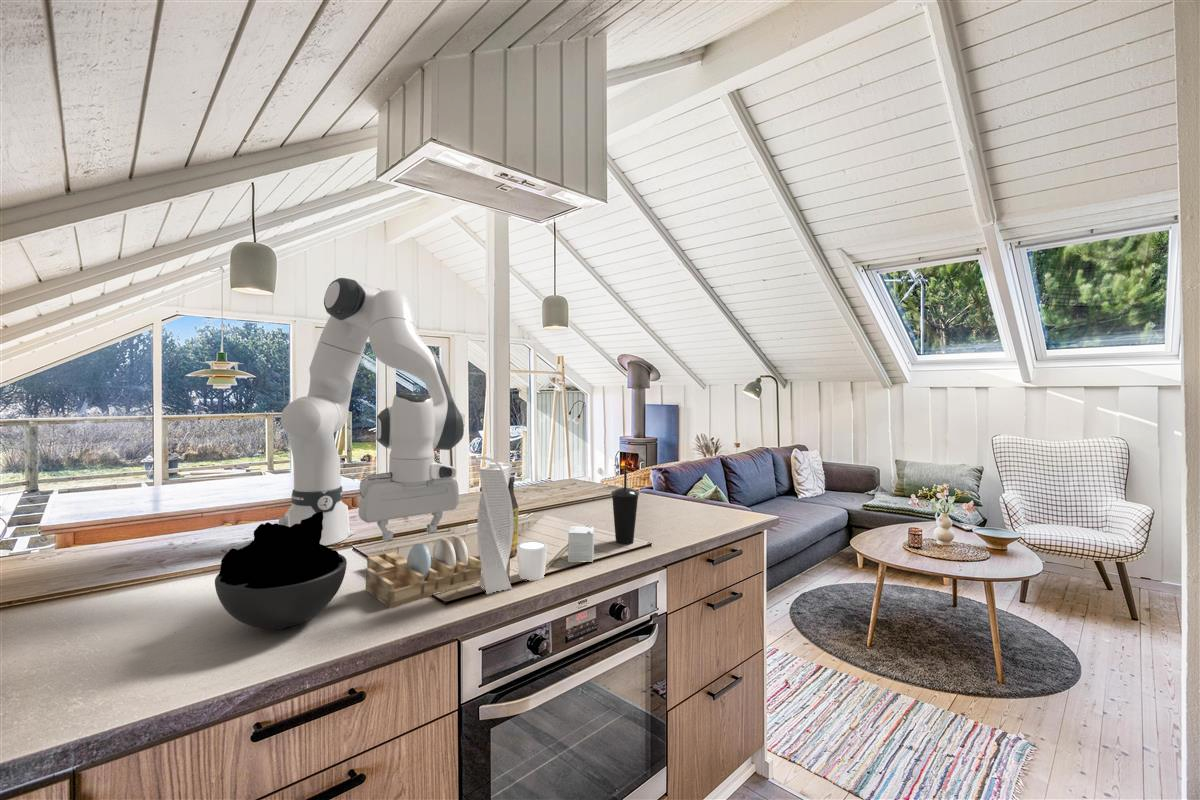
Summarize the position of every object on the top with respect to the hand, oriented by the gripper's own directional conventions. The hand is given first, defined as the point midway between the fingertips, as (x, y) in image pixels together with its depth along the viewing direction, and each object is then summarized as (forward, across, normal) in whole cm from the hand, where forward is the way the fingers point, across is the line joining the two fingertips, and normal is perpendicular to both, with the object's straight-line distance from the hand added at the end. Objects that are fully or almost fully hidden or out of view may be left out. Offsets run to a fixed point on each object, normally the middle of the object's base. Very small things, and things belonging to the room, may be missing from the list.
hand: (410, 536), depth 110 cm
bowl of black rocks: (+12, -23, 0) cm, 26 cm away
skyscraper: (+11, +14, -11) cm, 21 cm away
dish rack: (+11, +3, 0) cm, 11 cm away
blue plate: (+10, +1, 0) cm, 10 cm away
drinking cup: (+10, +57, -7) cm, 59 cm away
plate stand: (+11, +1, +13) cm, 17 cm away
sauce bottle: (+11, +27, +5) cm, 30 cm away
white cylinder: (+11, +24, -11) cm, 28 cm away
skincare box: (+10, +39, -10) cm, 42 cm away
